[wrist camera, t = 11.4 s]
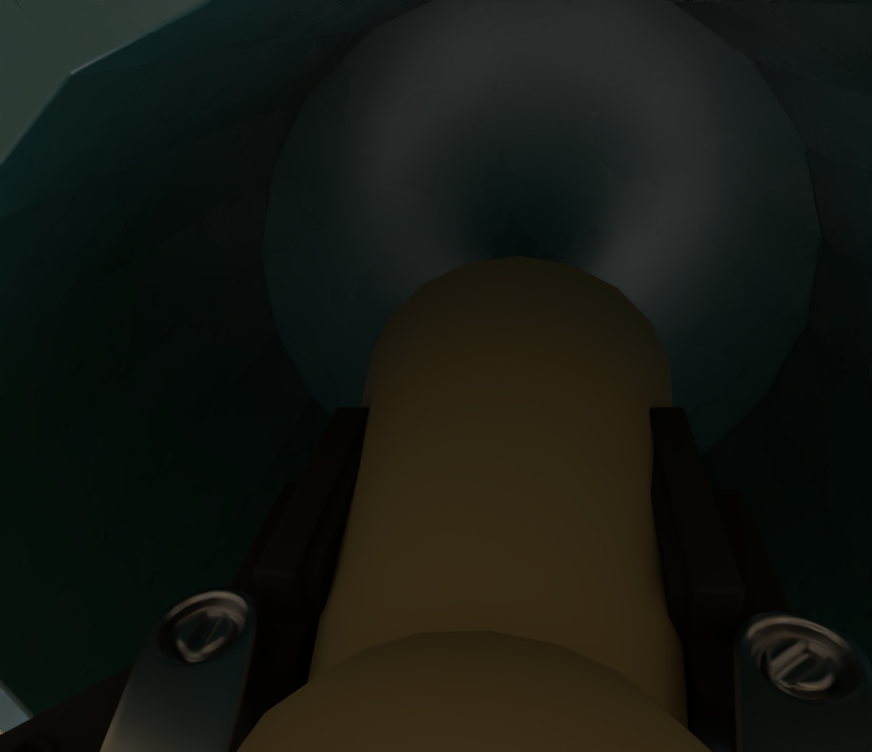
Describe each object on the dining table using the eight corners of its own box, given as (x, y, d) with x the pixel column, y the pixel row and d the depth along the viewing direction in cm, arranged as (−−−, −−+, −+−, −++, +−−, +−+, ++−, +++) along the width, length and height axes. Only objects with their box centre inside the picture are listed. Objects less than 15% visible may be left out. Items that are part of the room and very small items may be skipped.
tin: (296, 507, 25) (90, 925, 14) (182, -26, 18) (-487, -72, 6) (792, 519, 23) (1043, 1048, 11) (911, -101, 15) (2084, -424, 4)
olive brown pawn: (481, 188, 12) (239, 892, 3) (742, 379, 13) (1283, 1408, 4) (314, 420, 15) (-104, 1181, 5) (541, 565, 16) (535, 1425, 6)
